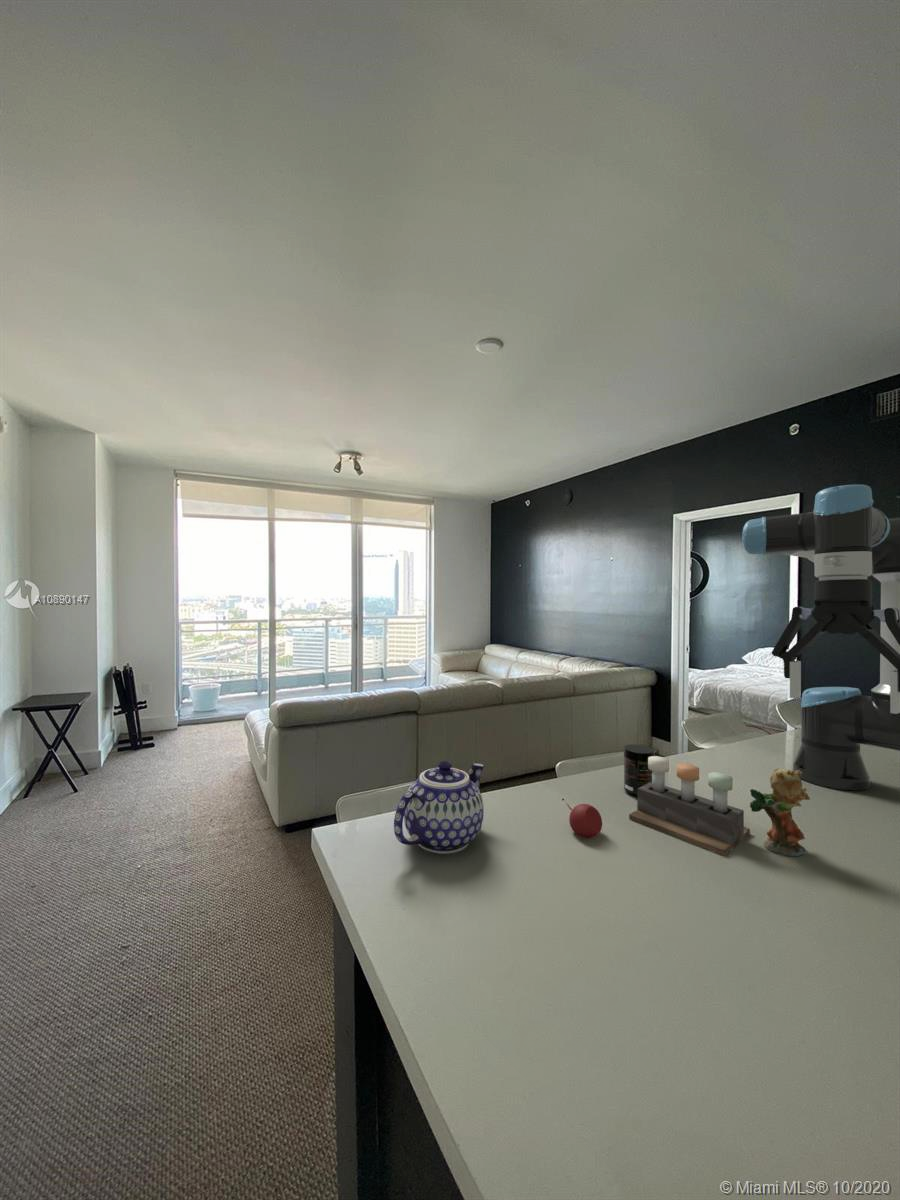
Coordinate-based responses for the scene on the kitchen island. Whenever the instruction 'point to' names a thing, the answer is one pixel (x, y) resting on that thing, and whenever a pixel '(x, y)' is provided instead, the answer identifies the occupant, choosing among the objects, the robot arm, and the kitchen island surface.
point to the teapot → (441, 809)
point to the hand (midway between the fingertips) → (842, 704)
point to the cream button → (658, 772)
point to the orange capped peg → (687, 781)
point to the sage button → (720, 790)
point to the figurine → (782, 811)
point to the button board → (690, 819)
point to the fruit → (585, 821)
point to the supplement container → (636, 767)
